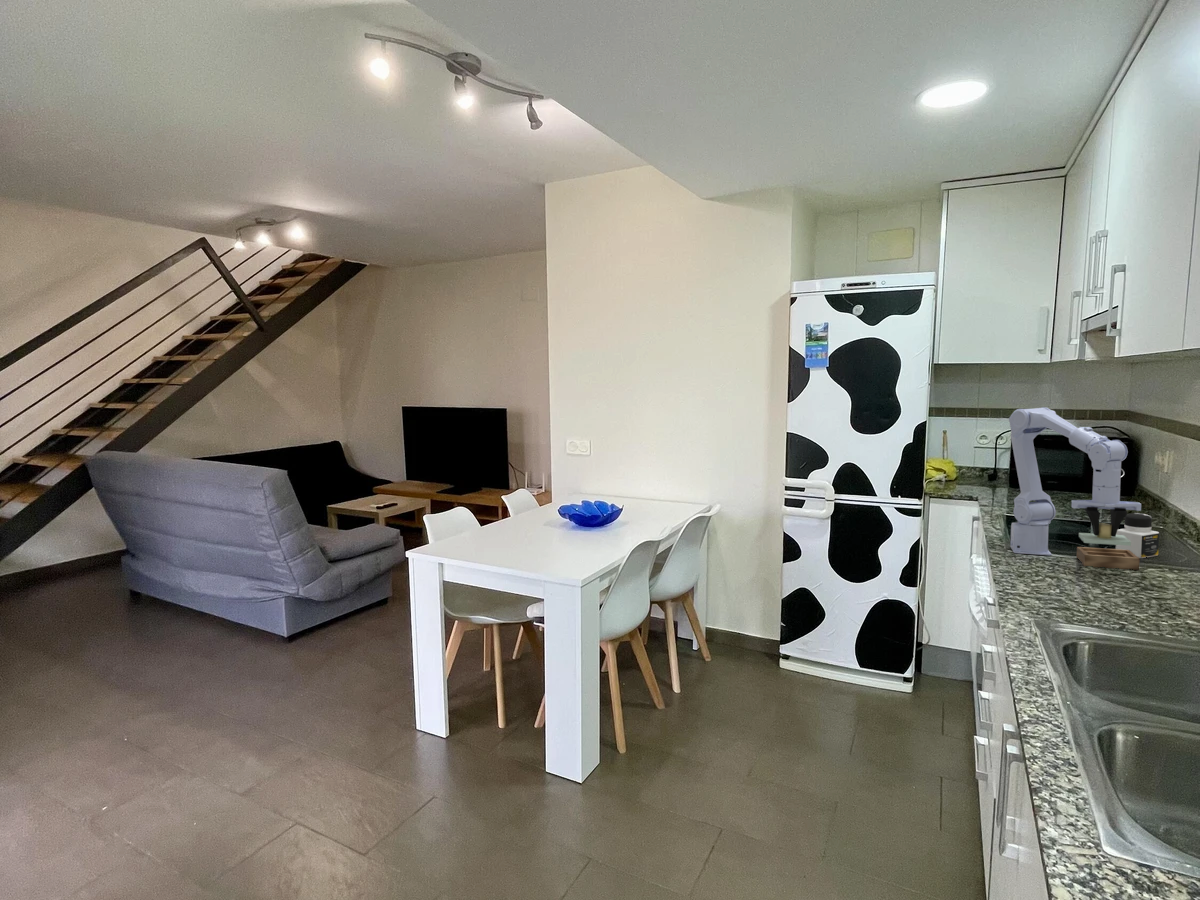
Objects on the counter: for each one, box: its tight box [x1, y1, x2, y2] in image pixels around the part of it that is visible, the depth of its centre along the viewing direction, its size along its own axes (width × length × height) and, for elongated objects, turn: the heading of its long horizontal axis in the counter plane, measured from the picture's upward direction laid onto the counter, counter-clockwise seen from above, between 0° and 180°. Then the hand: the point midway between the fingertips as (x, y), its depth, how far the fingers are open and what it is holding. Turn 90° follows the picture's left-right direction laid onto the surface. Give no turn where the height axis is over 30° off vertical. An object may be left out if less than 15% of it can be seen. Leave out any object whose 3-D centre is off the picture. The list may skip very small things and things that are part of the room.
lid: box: [1078, 522, 1131, 546], centre depth 168 cm, size 10×7×4 cm
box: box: [1076, 546, 1141, 571], centre depth 176 cm, size 12×9×3 cm
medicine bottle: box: [1115, 512, 1160, 559], centre depth 183 cm, size 7×7×12 cm
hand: (1104, 535), depth 168 cm, fingers closed on lid, 3 cm apart
